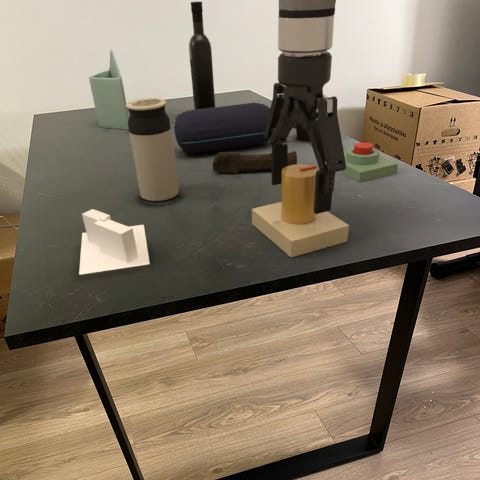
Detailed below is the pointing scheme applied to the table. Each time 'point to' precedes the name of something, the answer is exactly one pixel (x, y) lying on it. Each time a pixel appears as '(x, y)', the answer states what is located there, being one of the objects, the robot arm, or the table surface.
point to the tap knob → (298, 193)
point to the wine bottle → (201, 62)
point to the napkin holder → (111, 244)
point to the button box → (367, 165)
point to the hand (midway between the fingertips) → (299, 196)
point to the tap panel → (299, 230)
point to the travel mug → (152, 149)
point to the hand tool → (246, 161)
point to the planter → (110, 97)
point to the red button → (363, 148)
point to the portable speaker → (221, 127)
